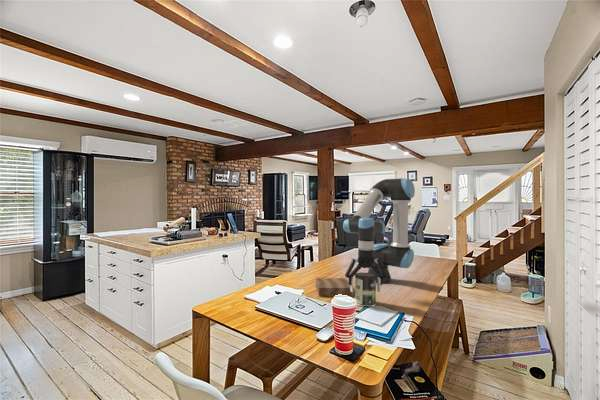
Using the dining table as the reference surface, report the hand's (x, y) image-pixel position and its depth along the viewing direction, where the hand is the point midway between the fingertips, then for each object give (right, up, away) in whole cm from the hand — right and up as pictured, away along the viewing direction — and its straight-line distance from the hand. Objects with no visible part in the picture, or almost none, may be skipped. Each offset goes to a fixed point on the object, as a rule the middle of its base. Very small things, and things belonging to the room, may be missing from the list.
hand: (365, 291), depth 140 cm
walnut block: (-14, -6, +18) cm, 24 cm away
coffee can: (0, -6, 0) cm, 6 cm away
